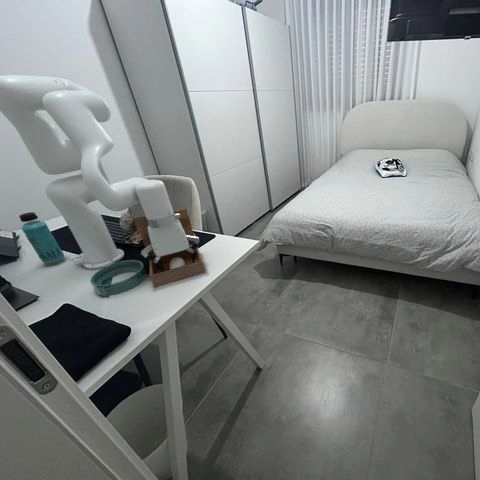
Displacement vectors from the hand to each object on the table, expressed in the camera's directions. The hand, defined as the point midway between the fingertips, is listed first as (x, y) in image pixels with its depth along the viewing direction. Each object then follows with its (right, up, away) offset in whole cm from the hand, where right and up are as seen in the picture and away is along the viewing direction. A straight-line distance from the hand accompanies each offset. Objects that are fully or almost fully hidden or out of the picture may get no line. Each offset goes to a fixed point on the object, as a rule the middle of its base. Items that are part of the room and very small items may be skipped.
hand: (178, 265), depth 89 cm
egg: (0, -2, +1) cm, 3 cm away
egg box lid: (-4, +12, +1) cm, 12 cm away
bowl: (-17, -6, -3) cm, 18 cm away
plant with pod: (-31, +9, +24) cm, 40 cm away
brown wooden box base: (-1, -2, +3) cm, 4 cm away
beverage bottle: (-52, 0, +9) cm, 53 cm away
